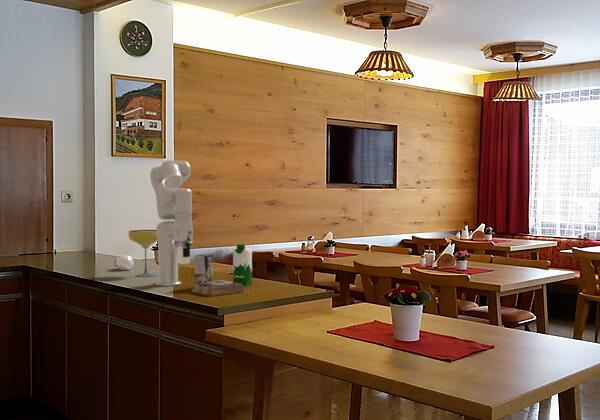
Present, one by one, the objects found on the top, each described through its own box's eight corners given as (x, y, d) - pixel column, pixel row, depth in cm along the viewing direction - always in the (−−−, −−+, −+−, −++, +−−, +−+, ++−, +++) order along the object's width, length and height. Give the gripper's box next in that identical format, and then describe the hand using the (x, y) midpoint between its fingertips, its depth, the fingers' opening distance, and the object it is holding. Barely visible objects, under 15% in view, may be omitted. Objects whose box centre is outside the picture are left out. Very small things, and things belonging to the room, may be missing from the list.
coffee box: (207, 289, 317) (206, 255, 317) (194, 289, 319) (193, 255, 318) (213, 286, 326) (213, 253, 326) (200, 286, 328) (200, 253, 327)
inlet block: (205, 290, 309) (205, 282, 309) (221, 288, 315) (221, 280, 315) (216, 292, 303) (216, 284, 303) (233, 290, 309) (232, 282, 309)
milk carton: (230, 285, 331) (230, 245, 331) (238, 283, 340) (238, 243, 339) (247, 286, 328) (247, 245, 328) (254, 283, 337) (254, 244, 336)
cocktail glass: (143, 273, 384) (142, 229, 383) (169, 274, 376) (168, 230, 375) (122, 276, 367) (121, 231, 367) (148, 278, 360) (148, 232, 359)
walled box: (191, 292, 308) (191, 284, 308) (223, 288, 320) (223, 281, 320) (210, 296, 296) (210, 288, 296) (243, 292, 308) (243, 284, 308)
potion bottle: (127, 273, 394) (117, 274, 405) (139, 263, 399) (129, 264, 411) (118, 261, 391) (108, 262, 402) (130, 251, 396) (120, 252, 408)
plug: (177, 263, 304) (177, 241, 304) (185, 262, 307) (185, 240, 306) (182, 264, 301) (182, 241, 300) (190, 263, 304) (190, 241, 303)
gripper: (166, 215, 307) (167, 255, 307) (186, 217, 294) (186, 258, 295) (181, 215, 312) (181, 254, 312) (200, 216, 299) (200, 257, 300)
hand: (183, 255), depth 304 cm, fingers closed on plug, 4 cm apart
